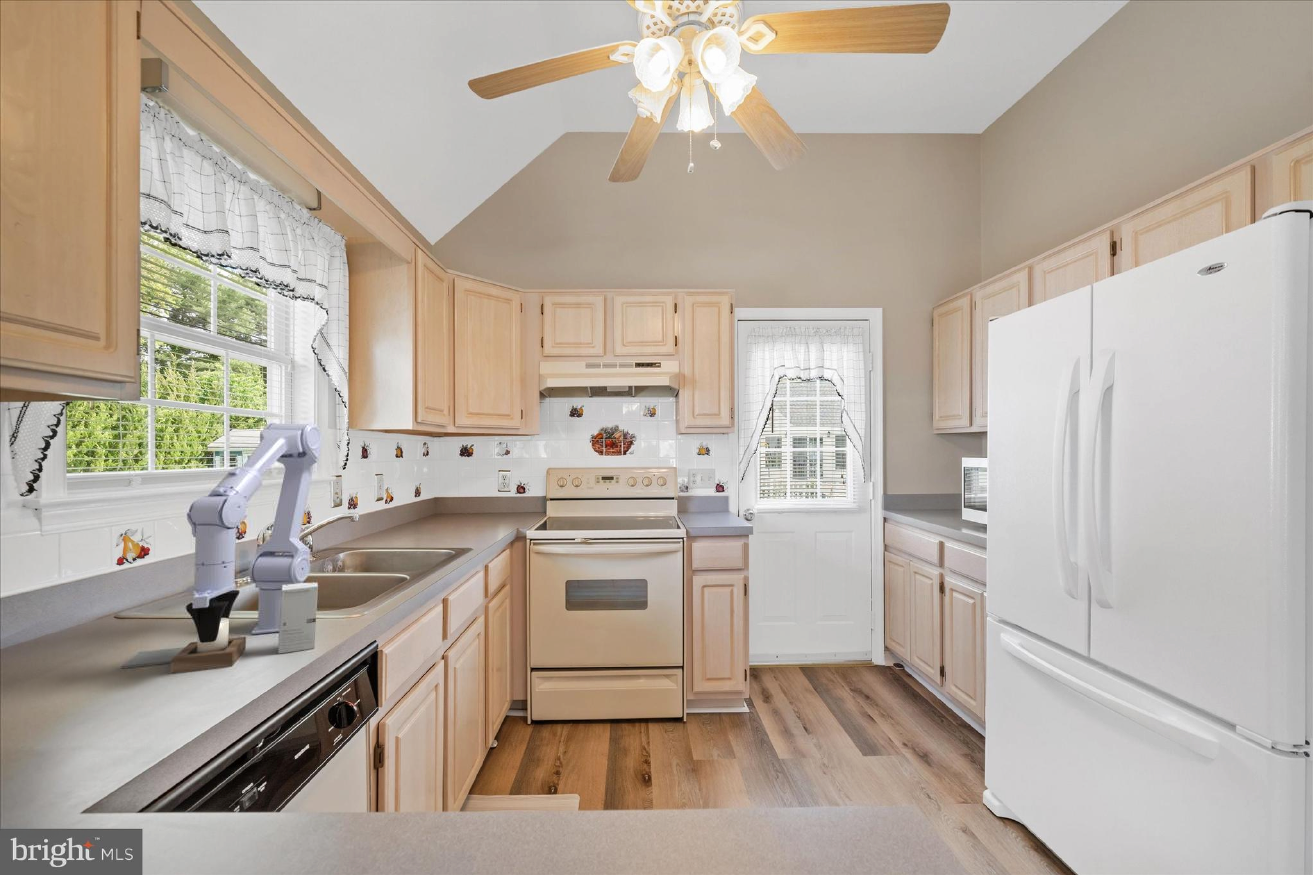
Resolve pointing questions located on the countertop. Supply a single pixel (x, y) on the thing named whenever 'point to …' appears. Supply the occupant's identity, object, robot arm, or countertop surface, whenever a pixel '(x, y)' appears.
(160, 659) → the slate mat
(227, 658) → the walnut holder
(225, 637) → the cream rounded capsule
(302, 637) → the skincare box
